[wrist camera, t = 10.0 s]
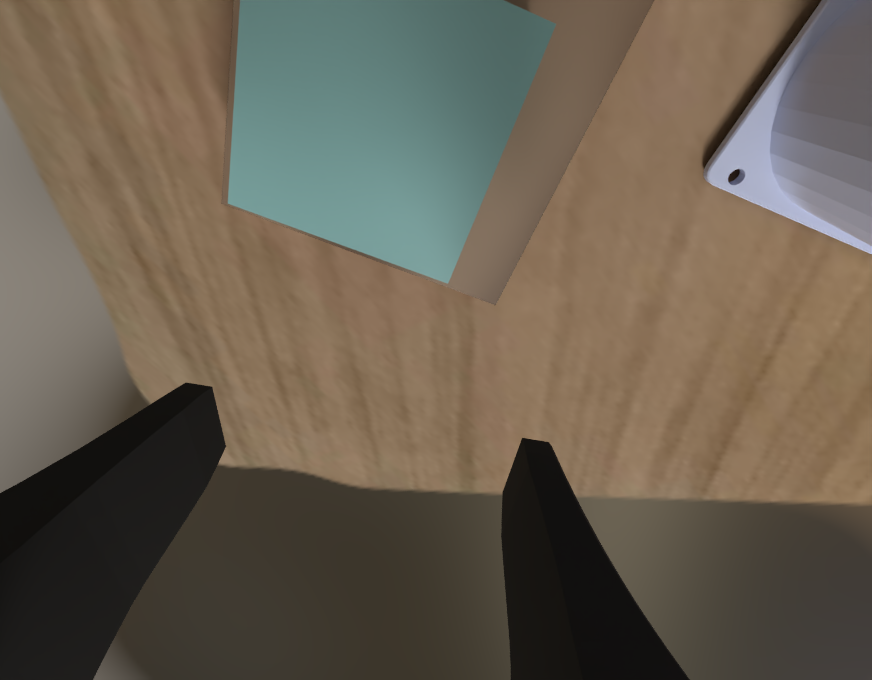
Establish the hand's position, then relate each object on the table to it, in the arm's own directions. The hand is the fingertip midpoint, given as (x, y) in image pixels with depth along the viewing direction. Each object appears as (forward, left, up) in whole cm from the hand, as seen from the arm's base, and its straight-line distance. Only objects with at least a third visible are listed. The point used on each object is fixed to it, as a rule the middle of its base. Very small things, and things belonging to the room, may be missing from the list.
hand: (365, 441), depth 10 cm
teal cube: (+2, -6, -7) cm, 9 cm away
